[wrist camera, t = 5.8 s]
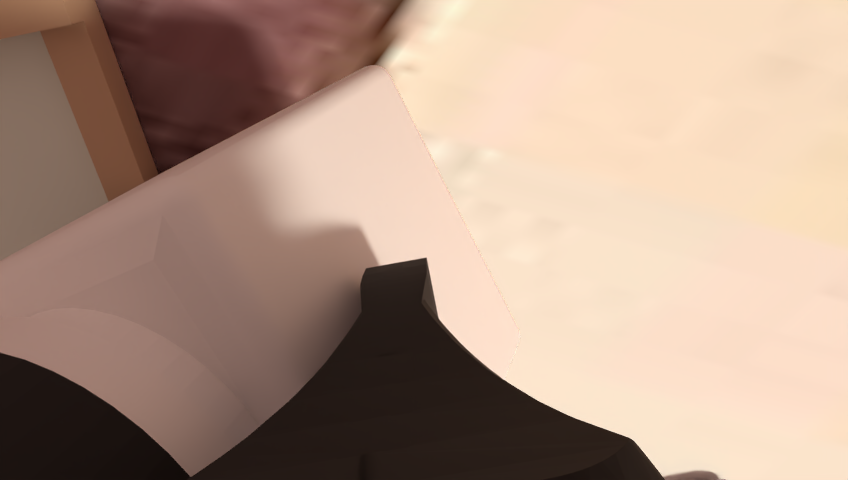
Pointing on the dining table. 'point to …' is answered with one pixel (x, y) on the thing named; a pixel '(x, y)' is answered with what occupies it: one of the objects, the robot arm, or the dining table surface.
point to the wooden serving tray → (61, 120)
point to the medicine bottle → (227, 289)
